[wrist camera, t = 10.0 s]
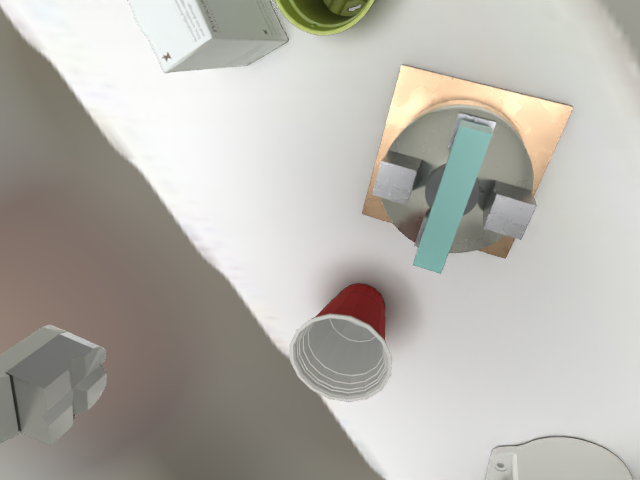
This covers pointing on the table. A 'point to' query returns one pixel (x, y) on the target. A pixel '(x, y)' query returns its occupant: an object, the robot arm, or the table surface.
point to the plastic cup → (344, 346)
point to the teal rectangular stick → (452, 194)
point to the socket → (434, 148)
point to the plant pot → (323, 14)
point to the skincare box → (208, 32)
